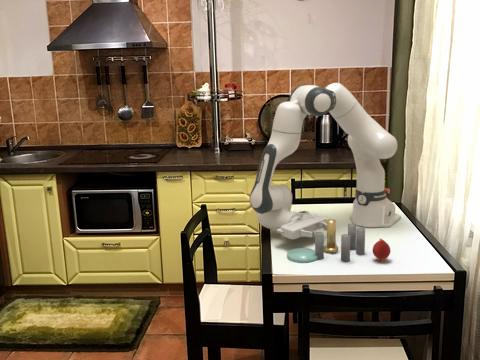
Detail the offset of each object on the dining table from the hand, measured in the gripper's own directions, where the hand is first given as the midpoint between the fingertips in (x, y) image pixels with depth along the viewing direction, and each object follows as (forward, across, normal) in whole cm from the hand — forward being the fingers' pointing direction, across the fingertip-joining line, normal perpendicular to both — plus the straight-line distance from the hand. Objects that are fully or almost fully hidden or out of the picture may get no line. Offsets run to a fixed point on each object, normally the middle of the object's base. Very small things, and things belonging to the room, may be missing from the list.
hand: (321, 231), depth 194 cm
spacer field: (+9, -1, +6) cm, 11 cm away
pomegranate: (+22, +4, +7) cm, 24 cm away
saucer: (0, -11, +6) cm, 13 cm away
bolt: (+4, 0, +6) cm, 8 cm away
